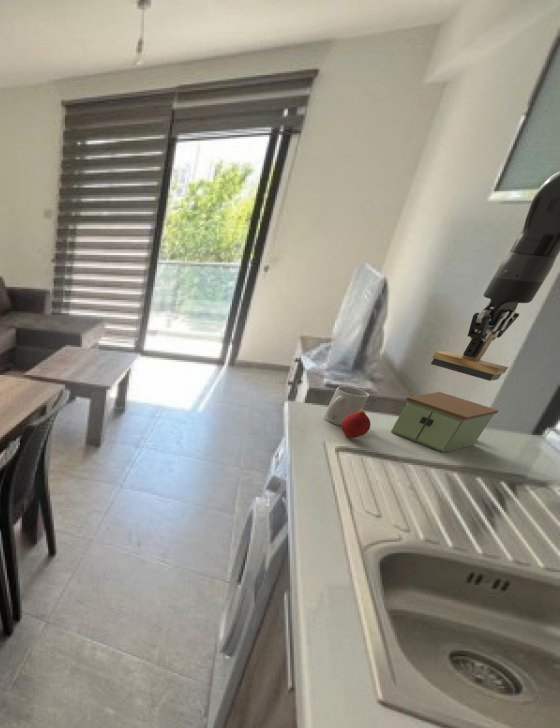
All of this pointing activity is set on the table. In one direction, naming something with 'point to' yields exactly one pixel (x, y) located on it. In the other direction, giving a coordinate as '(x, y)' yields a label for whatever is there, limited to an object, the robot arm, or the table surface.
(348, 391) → the cup
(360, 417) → the onion
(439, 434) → the cabinet
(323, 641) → the table surface
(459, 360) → the brush
